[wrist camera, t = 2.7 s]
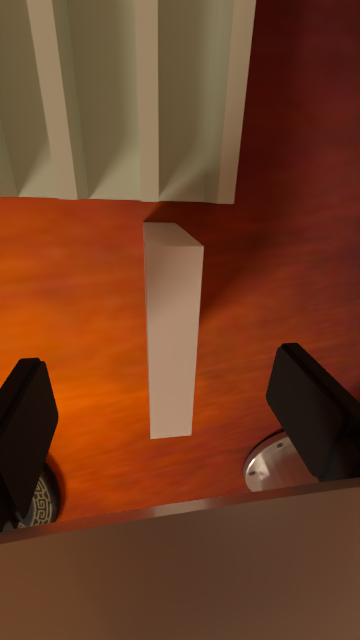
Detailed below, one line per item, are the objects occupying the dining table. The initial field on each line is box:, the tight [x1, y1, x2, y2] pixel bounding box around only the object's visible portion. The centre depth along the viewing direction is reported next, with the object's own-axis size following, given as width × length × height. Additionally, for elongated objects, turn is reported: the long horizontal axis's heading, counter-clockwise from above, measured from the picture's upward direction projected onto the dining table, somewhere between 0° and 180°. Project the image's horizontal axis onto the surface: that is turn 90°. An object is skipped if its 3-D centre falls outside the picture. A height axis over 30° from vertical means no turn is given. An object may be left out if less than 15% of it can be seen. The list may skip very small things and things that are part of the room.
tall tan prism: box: [143, 222, 204, 439], centre depth 17 cm, size 2×11×10 cm, turn 178°
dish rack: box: [0, 0, 256, 204], centre depth 13 cm, size 15×14×4 cm
